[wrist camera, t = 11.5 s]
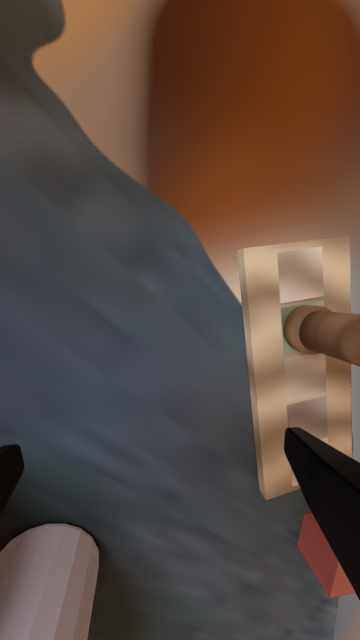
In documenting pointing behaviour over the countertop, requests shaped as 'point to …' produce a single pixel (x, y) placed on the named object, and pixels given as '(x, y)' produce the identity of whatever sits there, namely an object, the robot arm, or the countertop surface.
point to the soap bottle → (48, 584)
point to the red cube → (322, 558)
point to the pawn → (324, 332)
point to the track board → (293, 352)
